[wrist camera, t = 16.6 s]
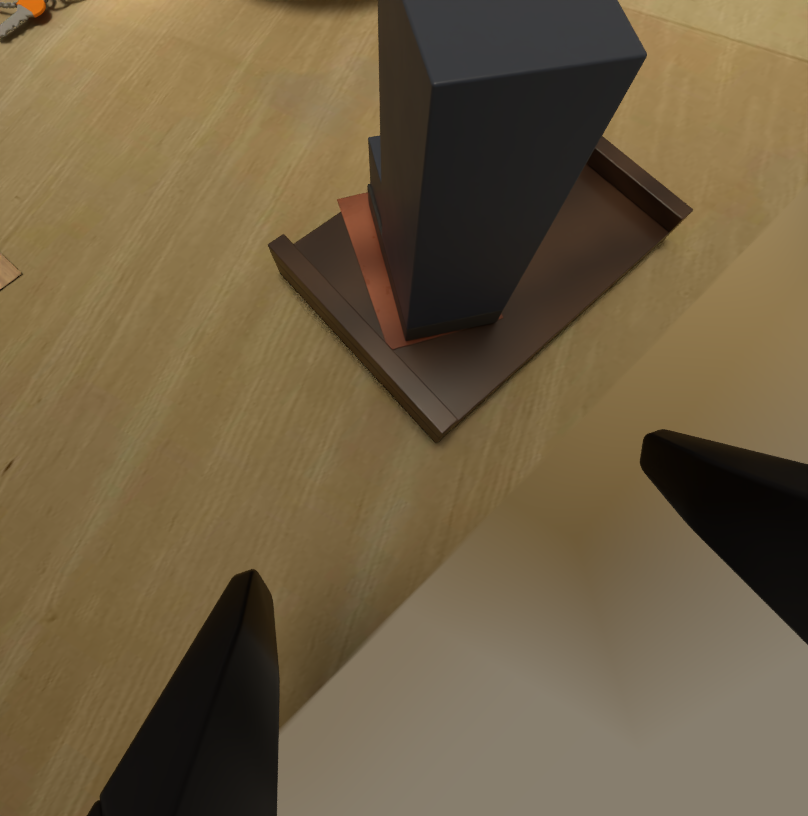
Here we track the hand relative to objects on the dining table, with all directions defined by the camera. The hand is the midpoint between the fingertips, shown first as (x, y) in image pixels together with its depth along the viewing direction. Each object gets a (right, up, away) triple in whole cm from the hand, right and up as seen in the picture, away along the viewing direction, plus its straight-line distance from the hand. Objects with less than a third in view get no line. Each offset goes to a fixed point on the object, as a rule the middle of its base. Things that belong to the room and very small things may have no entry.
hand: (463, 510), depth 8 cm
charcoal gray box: (0, +11, +16) cm, 19 cm away
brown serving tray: (+4, +13, +18) cm, 22 cm away
